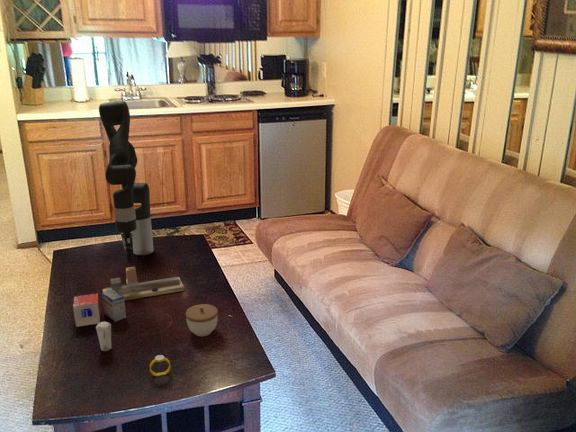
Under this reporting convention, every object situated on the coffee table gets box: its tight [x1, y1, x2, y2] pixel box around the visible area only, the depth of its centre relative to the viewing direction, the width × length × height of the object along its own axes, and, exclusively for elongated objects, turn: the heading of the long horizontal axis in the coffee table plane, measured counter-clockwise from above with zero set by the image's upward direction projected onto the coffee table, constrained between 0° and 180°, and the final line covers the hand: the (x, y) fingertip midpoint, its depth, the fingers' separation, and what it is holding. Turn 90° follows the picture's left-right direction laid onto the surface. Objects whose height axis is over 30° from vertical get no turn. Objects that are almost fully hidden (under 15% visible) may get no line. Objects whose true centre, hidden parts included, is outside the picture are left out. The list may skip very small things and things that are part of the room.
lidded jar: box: [185, 303, 219, 337], centre depth 175 cm, size 11×11×9 cm
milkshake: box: [95, 321, 112, 352], centre depth 165 cm, size 4×5×10 cm
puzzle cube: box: [72, 293, 101, 328], centre depth 183 cm, size 8×8×8 cm
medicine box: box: [101, 290, 127, 323], centre depth 185 cm, size 8×4×9 cm, turn 47°
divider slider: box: [125, 265, 139, 291], centre depth 202 cm, size 4×4×9 cm
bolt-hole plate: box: [102, 276, 185, 302], centre depth 204 cm, size 10×30×6 cm, turn 112°
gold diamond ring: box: [149, 354, 172, 377], centre depth 153 cm, size 6×3×6 cm, turn 108°
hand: (129, 257), depth 199 cm, fingers open, 8 cm apart
